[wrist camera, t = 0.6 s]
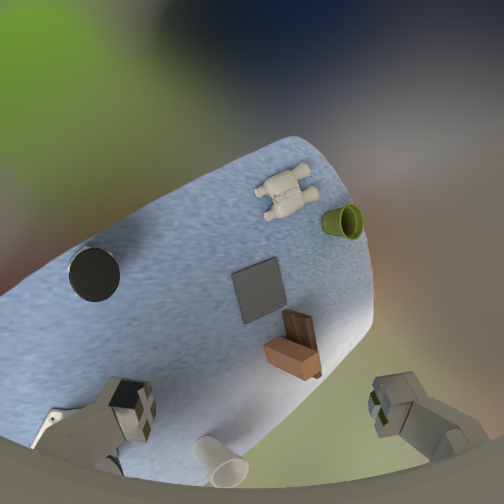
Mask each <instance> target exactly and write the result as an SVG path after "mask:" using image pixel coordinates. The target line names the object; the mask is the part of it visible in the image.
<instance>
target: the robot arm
mask: <svg viewBox="0 0 504 504" xmlns="http://www.w3.org/2000/svg"><path fill="white" fill-rule="evenodd" d="M372 386H373V388H374V390H373V391H372V392H371V393H370V396H369V400H368V409H369V413H370V416H371V417H372V418H373V419H375V420H376V421H375V424H374V427H375V429H376V432H377V435H378V437H379V438H383V437H389V436H394V435H400V437H402V438H403V439H404V440H405V441H407V442H408V443H409V444H410V445H412V446H413V447H414V448H416V449H417V450H418V451H419V452H420V453H422V454H423V455H424V456H425V457H427V458H428V459H429V460H430V461H429V463H426V464H423V465H419V466H416V467H412V468H408V469H405V470H400V471H396V472H392V473H388V474H383V475H378V476H374V477H368V478H363V479H358V480H351V481H344V482H338V483H330V484H321V485H312V486H301V487H285V488H259V489H258V488H253V489H252V488H251V489H250V488H249V489H248V488H247V489H246V488H216V487H201V486H190V485H181V484H172V483H165V482H158V481H151V480H145V479H139V478H134V477H129V476H124V474H123V470H122V467H121V464H120V461H119V459H118V454H117V451H116V448H118V447H119V446H120V445H121V444H122V443H123V442H125V440H131V441H139V442H147V440H148V437H149V434H150V431H151V429H150V426H149V424H150V423H151V422H153V421H154V418H155V414H156V403H155V399H154V397H153V396H152V395H151V394H150V392H151V390H152V388H151V385H150V382H148V381H143V380H135V379H128V378H119V377H110V378H109V379H108V381H107V382H106V384H105V386H104V388H103V389H102V391H101V393H100V395H99V397H98V398H97V400H96V402H95V404H93V403H91V404H89V405H87V406H86V407H84V408H82V409H74V410H67V411H64V410H60V409H51V410H50V411H49V413H48V414H47V416H46V418H45V420H44V422H43V423H42V425H41V427H40V429H39V430H38V432H37V434H36V436H35V438H34V440H33V441H32V443H31V445H30V447H26V446H24V445H21V444H19V443H16V442H14V441H12V440H9V439H7V438H5V437H3V436H1V435H0V504H504V435H502V436H499V437H497V438H495V439H493V440H490V438H489V437H488V435H487V434H486V432H485V431H484V429H483V428H482V426H481V424H480V423H479V421H478V420H476V419H474V418H472V417H470V416H468V415H466V414H464V413H462V412H460V411H458V410H456V409H454V408H453V407H451V406H449V405H447V404H445V403H443V402H441V401H439V400H437V399H435V398H433V397H431V398H429V396H428V395H427V393H426V391H425V390H424V388H423V386H422V385H421V383H420V382H419V380H418V378H417V377H416V375H415V374H414V372H412V371H410V372H404V373H400V374H394V375H387V376H380V377H375V379H374V381H373V384H372ZM51 418H54V419H51Z"/></svg>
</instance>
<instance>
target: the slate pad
mask: <svg viewBox="0 0 504 504" xmlns="http://www.w3.org/2000/svg"><path fill="white" fill-rule="evenodd" d="M231 276H232V279H233V283H234V287H235V291H236V295H237V298H238V302H239V306H240V310H241V313H242V317H243V321H244V324H248V323H250V322H252V321H254V320H256V319H258V318H260V317H262V316H264V315H267V314H269V313H271V312H273V311H275V310H277V309H279V308H281V307H283V306H285V305H287V304H286V299H285V294H284V290H283V285H282V281H281V276H280V272H279V267H278V263H277V259H276V258H275V257H274V258H272V259H269V260H266V261H264V262H261V263H259V264H256V265H254V266H251V267H248V268H246V269H243V270H241V271H238V272H235V273H233V274H231Z"/></svg>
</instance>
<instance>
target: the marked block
mask: <svg viewBox="0 0 504 504" xmlns="http://www.w3.org/2000/svg"><path fill="white" fill-rule="evenodd" d="M264 348H265V352H266V356H267V360H268V362H269V363H271V364H273V365H274V366H276V367H278V368H280V369H282V370H284V371H286V372H288V373H290V374H292V375H294V376H296V377H298V378H300V379H302V380H304V381H306V380H308V379H309V378H311V377H312V376H314V375H315V374H317V373H318V372H320V371H321V370H322V369H321V363H320V357H319V352H318V351H316V350H313V349H310V348H308V347H305V346H302V345H300V344H297V343H295V342H292V341H290V340H287V339H285V338H282V337H278V338H276V339H274V340H273V341H271V342H269V343H267V344H265V345H264Z"/></svg>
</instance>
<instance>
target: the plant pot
mask: <svg viewBox="0 0 504 504" xmlns="http://www.w3.org/2000/svg"><path fill="white" fill-rule="evenodd" d="M321 223H322V229H323V230H324V232H325V233H327V234H330V235H336V236H342V237H345V238H346V239H348V240H356V239H358V238H359V237H360V235H361V234H362V231H363V225H364V220H363V215H362V213H361V210H360V209H359V207H358V206H357V205H355V204H353V203H349V204H346V205H345V206H344V207H342V208H339V209H336V210H332V211H329V212H326V213H325V214H324V215H323V216H322V219H321Z"/></svg>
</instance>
